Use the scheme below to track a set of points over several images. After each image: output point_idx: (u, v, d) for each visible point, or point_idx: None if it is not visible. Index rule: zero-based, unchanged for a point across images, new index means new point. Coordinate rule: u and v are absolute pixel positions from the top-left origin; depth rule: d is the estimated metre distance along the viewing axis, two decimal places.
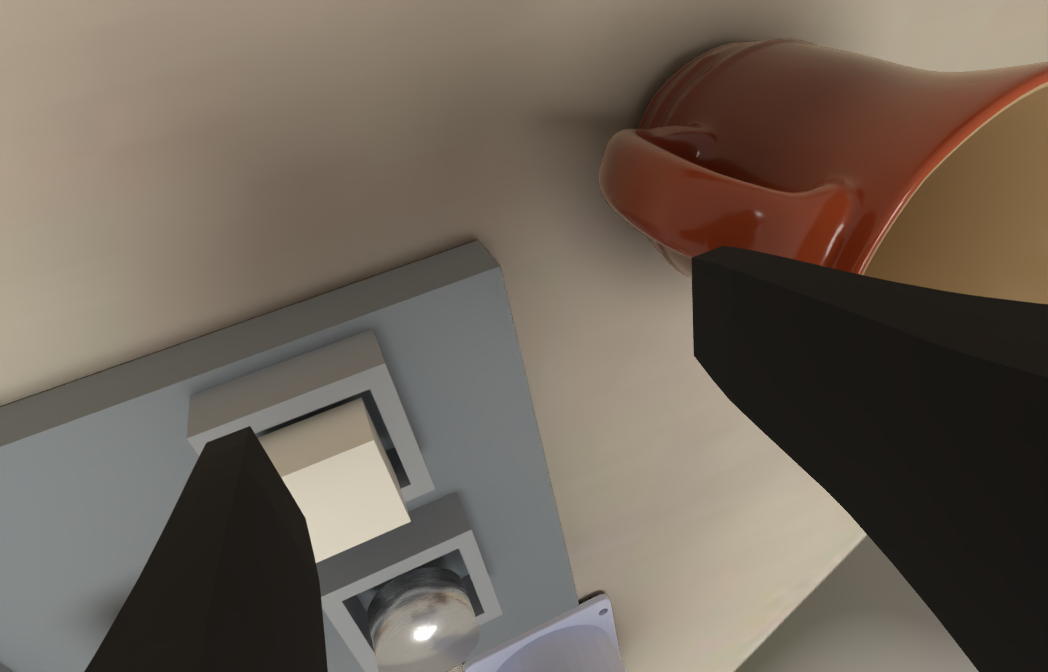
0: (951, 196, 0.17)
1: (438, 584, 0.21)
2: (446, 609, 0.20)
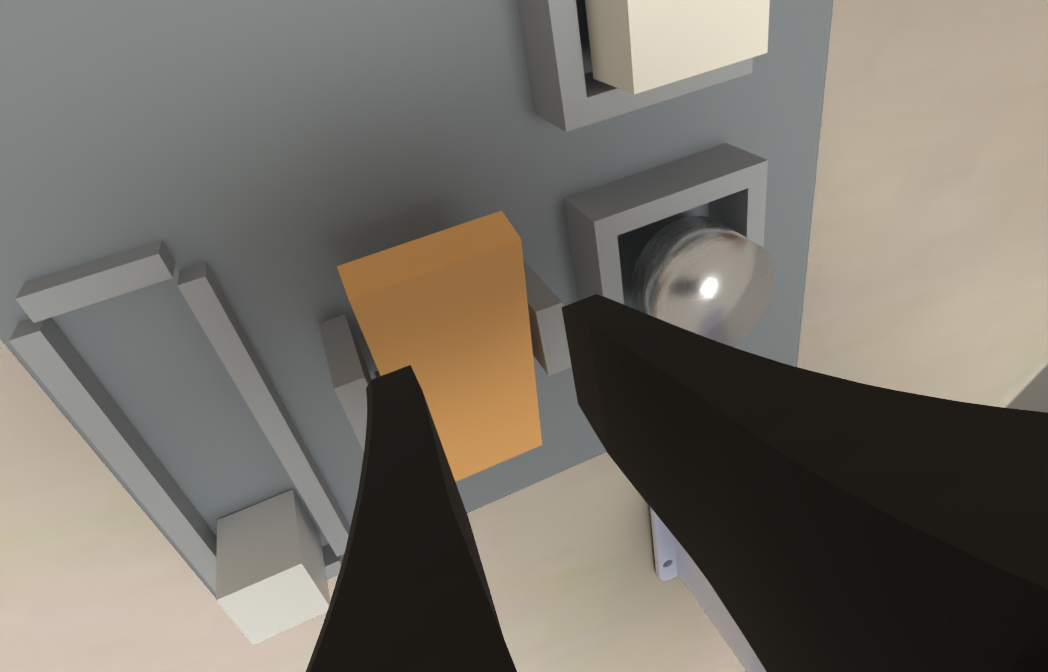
0: None
1: (727, 227, 0.17)
2: None
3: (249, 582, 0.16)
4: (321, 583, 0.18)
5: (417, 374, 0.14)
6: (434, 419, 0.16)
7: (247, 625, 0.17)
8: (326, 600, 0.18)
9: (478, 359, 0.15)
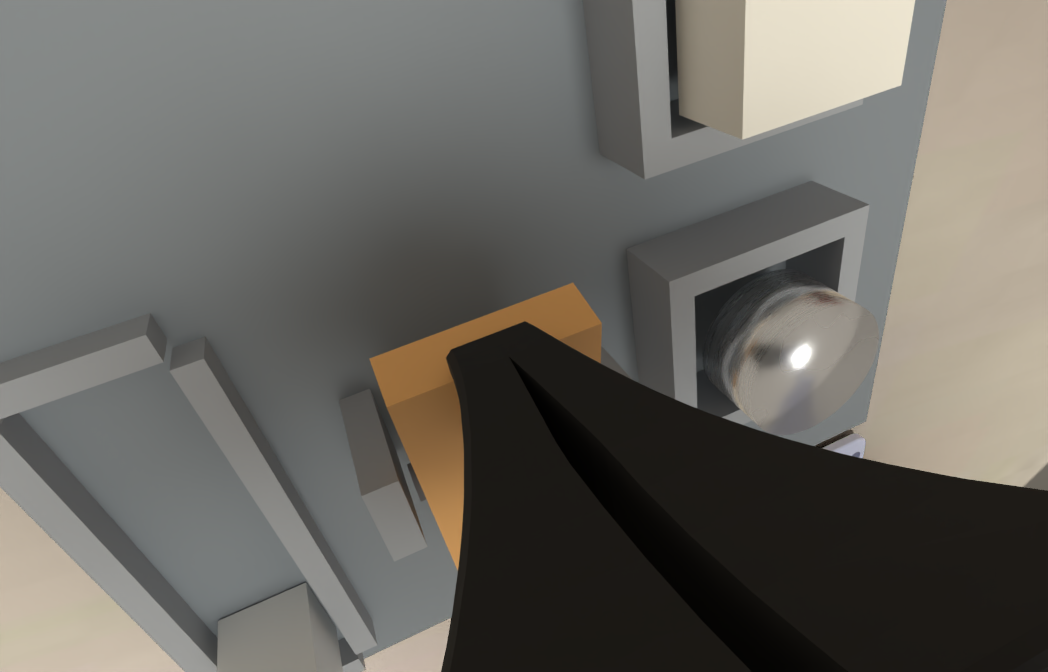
0: None
1: (822, 284, 0.14)
2: (855, 303, 0.13)
3: None
4: None
5: (463, 478, 0.11)
6: None
7: None
8: None
9: None
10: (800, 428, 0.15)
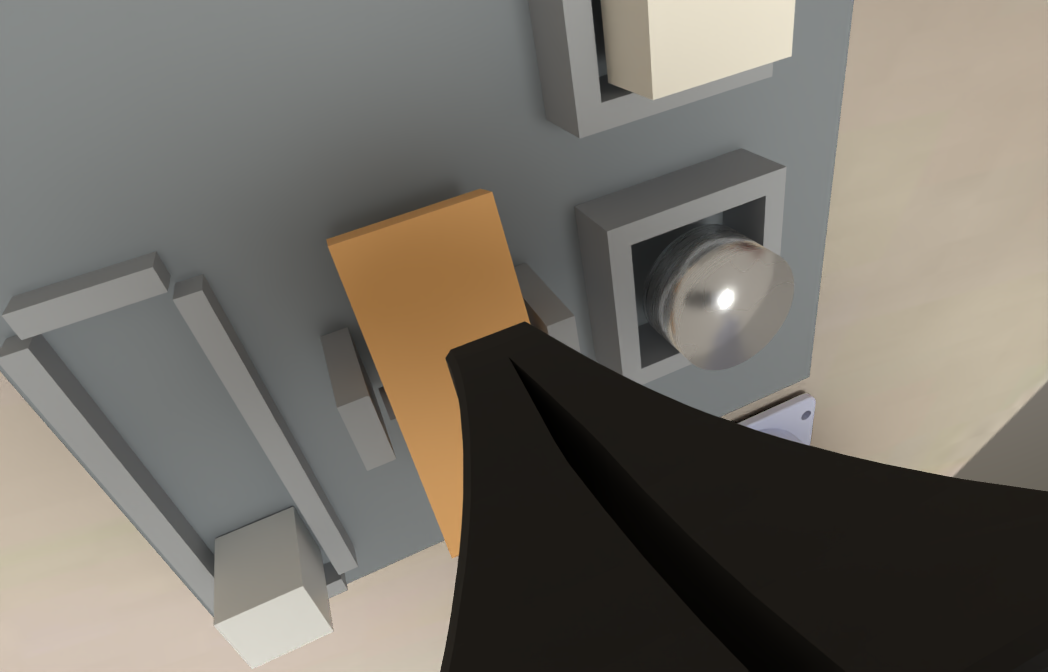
0: None
1: (744, 236, 0.16)
2: (770, 251, 0.15)
3: (248, 606, 0.16)
4: (323, 605, 0.17)
5: (410, 358, 0.14)
6: (439, 431, 0.14)
7: (246, 649, 0.16)
8: (328, 622, 0.17)
9: None
10: (728, 365, 0.17)
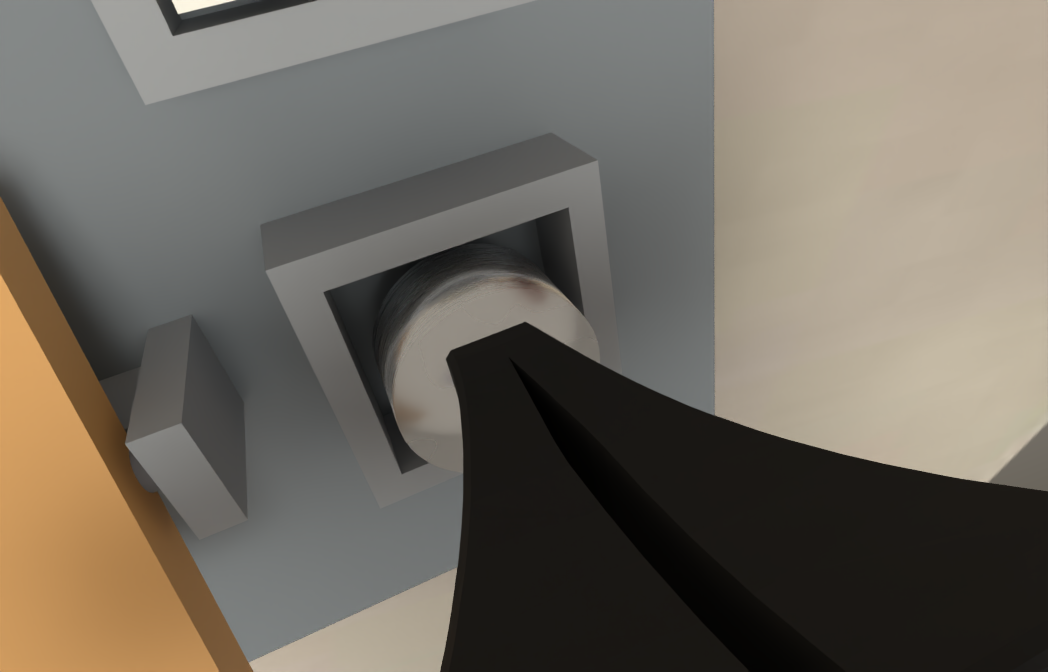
0: None
1: (518, 263, 0.10)
2: (542, 290, 0.09)
3: None
4: None
5: None
6: None
7: None
8: None
9: None
10: None
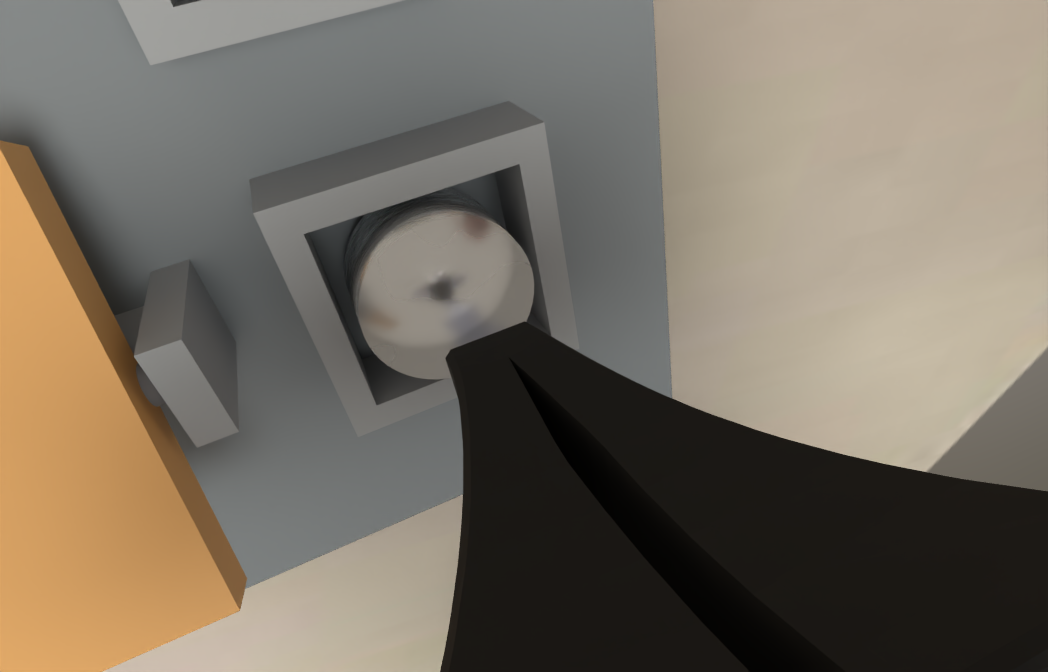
0: None
1: (464, 201, 0.12)
2: (480, 219, 0.11)
3: None
4: None
5: None
6: None
7: None
8: None
9: (6, 380, 0.09)
10: None
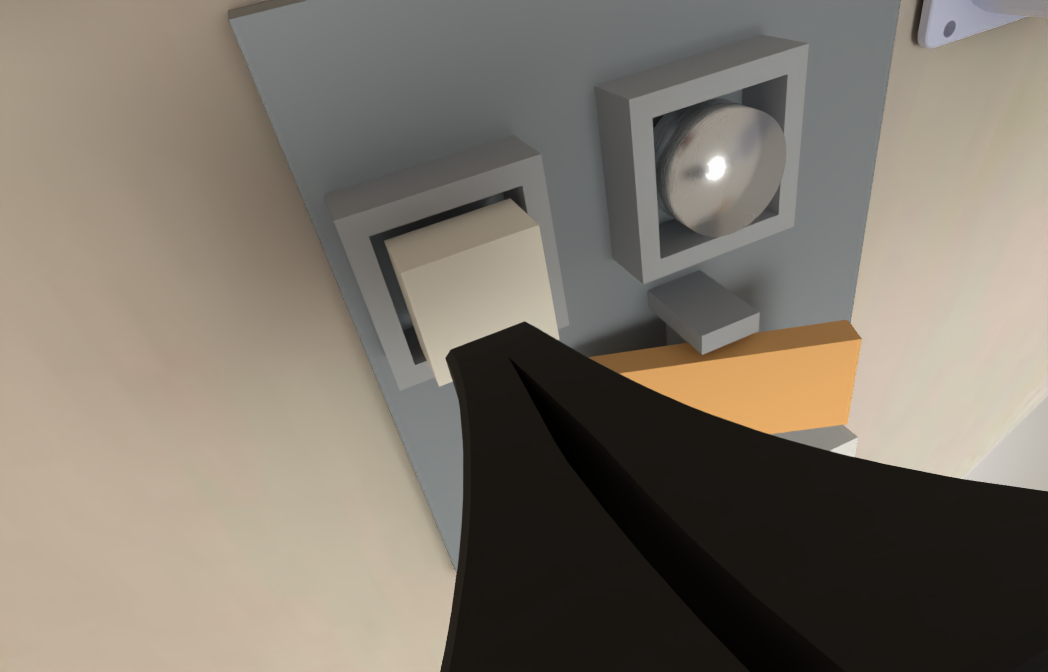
0: None
1: (663, 144, 0.17)
2: (683, 155, 0.16)
3: None
4: (836, 436, 0.25)
5: None
6: (744, 420, 0.20)
7: None
8: (849, 439, 0.25)
9: (693, 395, 0.20)
10: (781, 168, 0.17)
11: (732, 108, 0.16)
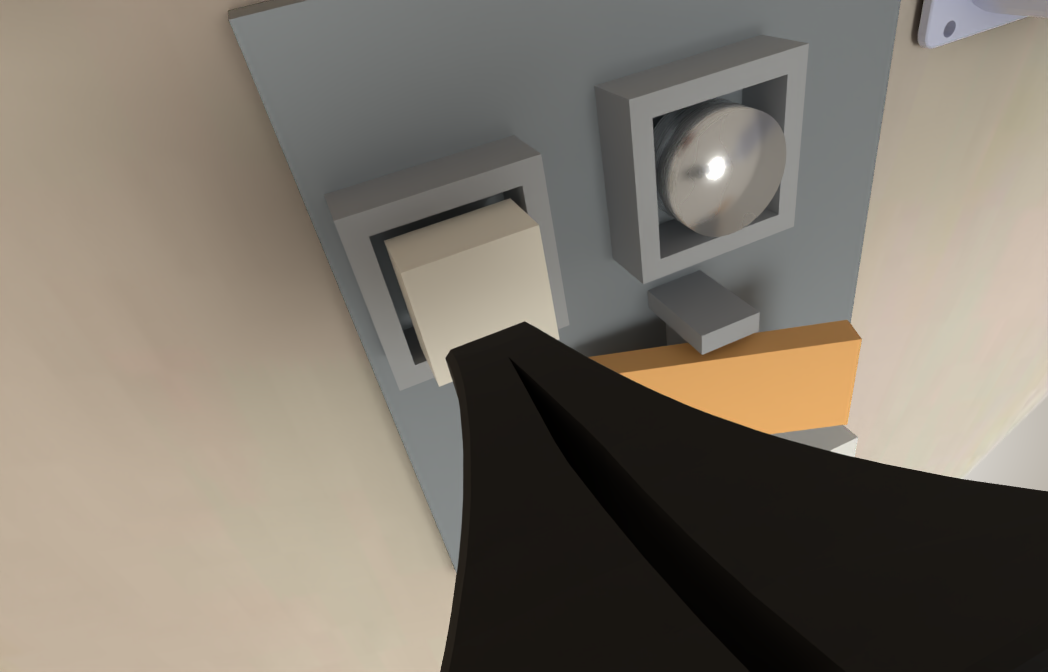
0: None
1: (663, 144, 0.17)
2: (683, 155, 0.16)
3: None
4: (836, 436, 0.25)
5: None
6: (744, 420, 0.20)
7: None
8: (849, 439, 0.25)
9: (693, 395, 0.20)
10: (781, 168, 0.17)
11: (732, 108, 0.16)
